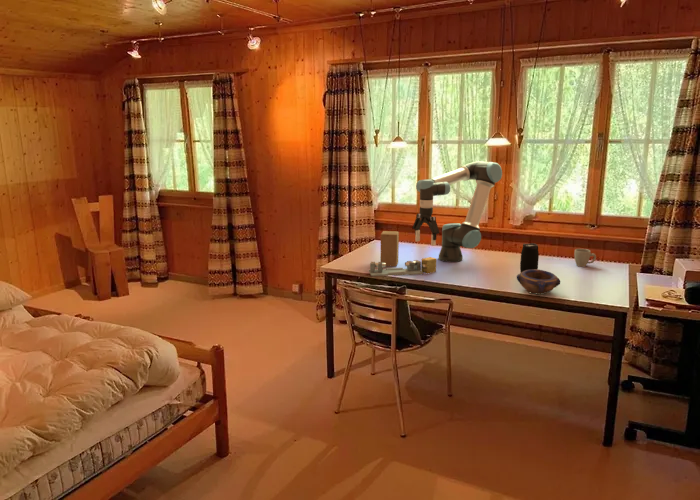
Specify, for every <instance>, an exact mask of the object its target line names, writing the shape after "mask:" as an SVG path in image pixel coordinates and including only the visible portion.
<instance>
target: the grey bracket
mask: <svg viewBox="0 0 700 500" xmlns="http://www.w3.org/2000/svg"><path fill="white" fill-rule="evenodd" d="M369 266H370V267H369V270H370V272H375V270H376V268H377V270H378V273H382V271H383V269H384V268H387V266H386V263H383V262H380V261H378V262H375V261H370V264H369Z"/></svg>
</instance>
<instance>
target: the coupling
mask: <svg viewBox="0 0 700 500" xmlns="http://www.w3.org/2000/svg"><path fill="white" fill-rule="evenodd" d="M421 271H422V272H423V274H426V273H427V274H426V275H428V273H429V274H432V273H436V272H437V258H435V257H431V256H428V257H424V258H422V259H421Z"/></svg>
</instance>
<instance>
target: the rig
mask: <svg viewBox="0 0 700 500" xmlns="http://www.w3.org/2000/svg"><path fill="white" fill-rule="evenodd" d="M368 272H370V269H369V270H368ZM369 274H370V276H371V277H389V276H388V275H394V276H414V275H417V276H418V275H424V273H423V272H422V271H421V270H420V271H417V270H415V269H414V271H411V272H410V271H408V270H407V268H403V267H385V269H384V268H383V271H382V273H378V269H375V272H370V273H369Z"/></svg>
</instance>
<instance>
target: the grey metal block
mask: <svg viewBox="0 0 700 500" xmlns="http://www.w3.org/2000/svg"><path fill="white" fill-rule="evenodd" d="M404 266H405V267H406V269H407V270H408V271H410V272H411V271H414V269H415V270H417V271H420V270H421V266H422V261H420V260H418V259H415V260H413V261H412V260H407V261H406V262H404Z"/></svg>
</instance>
